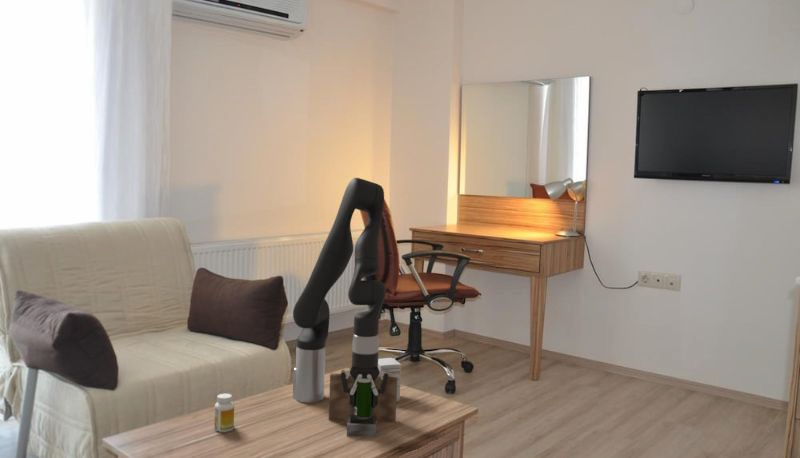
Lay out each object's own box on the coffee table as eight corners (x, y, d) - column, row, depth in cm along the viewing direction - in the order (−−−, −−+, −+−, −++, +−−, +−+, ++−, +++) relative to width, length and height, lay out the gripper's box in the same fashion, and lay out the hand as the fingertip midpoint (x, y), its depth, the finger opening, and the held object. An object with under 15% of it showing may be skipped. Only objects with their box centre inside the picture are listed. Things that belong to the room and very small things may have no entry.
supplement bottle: (237, 426, 198) (238, 394, 197) (226, 433, 193) (227, 400, 192) (221, 423, 200) (222, 391, 199) (210, 430, 195) (211, 397, 193)
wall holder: (325, 435, 194) (327, 387, 193) (329, 418, 207) (330, 373, 205) (396, 437, 195) (398, 390, 193) (395, 420, 208) (397, 375, 206)
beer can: (360, 421, 195) (361, 380, 193) (350, 414, 199) (351, 374, 198) (376, 417, 198) (377, 377, 196) (366, 411, 202) (367, 371, 201)
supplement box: (371, 395, 228) (372, 358, 226) (392, 393, 230) (393, 357, 229) (378, 403, 221) (380, 365, 219) (400, 401, 224) (401, 363, 222)
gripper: (339, 352, 192) (337, 410, 194) (390, 353, 193) (388, 412, 195) (340, 345, 200) (339, 401, 201) (390, 346, 200) (388, 402, 202)
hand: (363, 406), depth 198 cm, fingers closed on beer can, 5 cm apart
